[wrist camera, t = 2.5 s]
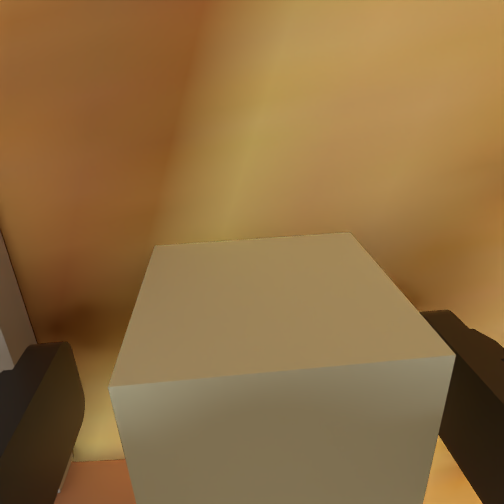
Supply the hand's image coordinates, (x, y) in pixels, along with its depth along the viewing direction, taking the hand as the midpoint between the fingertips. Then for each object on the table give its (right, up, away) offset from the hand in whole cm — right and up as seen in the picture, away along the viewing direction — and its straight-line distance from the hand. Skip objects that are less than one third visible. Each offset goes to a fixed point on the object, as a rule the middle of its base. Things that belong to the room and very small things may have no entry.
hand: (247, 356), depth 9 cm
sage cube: (0, +1, +2) cm, 2 cm away
